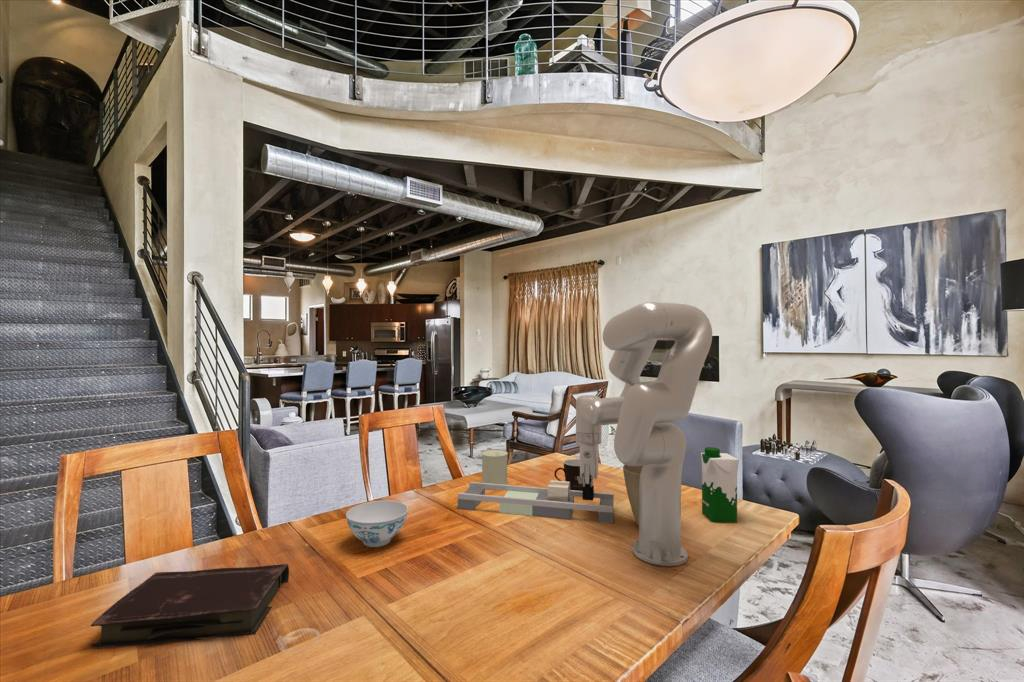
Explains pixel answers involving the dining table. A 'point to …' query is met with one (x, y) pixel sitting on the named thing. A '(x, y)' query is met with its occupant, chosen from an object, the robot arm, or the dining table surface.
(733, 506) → the milk carton
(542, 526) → the dining table surface
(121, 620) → the diary
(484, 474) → the can
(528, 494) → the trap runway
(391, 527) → the chinaware
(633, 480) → the plant pot
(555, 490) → the block
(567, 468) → the coffee mug
